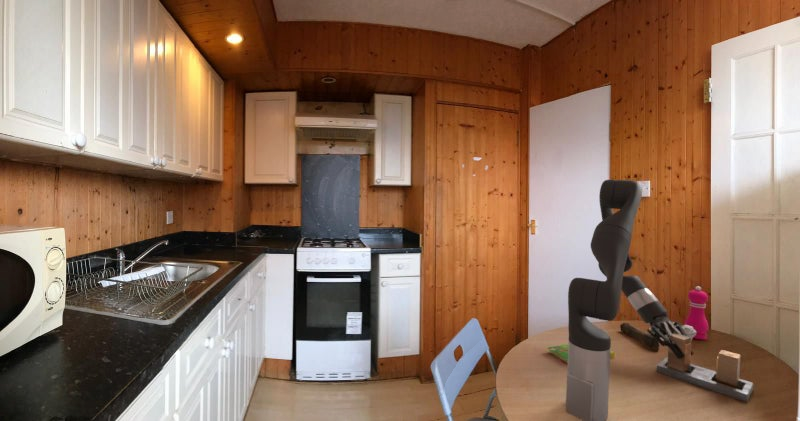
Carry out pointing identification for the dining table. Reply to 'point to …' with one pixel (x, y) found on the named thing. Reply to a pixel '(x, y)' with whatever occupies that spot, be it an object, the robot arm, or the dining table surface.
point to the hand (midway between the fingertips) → (686, 356)
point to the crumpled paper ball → (689, 331)
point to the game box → (566, 352)
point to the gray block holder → (715, 376)
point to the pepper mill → (697, 313)
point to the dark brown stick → (640, 336)
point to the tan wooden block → (685, 347)
